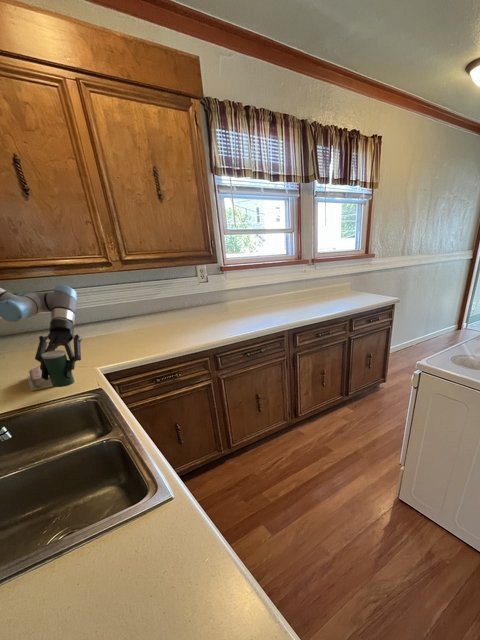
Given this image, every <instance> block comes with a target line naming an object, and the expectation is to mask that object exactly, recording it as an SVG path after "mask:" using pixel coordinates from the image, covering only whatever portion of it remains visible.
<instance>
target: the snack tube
mask: <svg viewBox="0 0 480 640" xmlns="http://www.w3.org/2000/svg"><path fill="white" fill-rule="evenodd" d="M41 356H42V358H43V360H44V363H45V366H46V368H47V371H48V374H49V377H50V379H51V382H52V385H53V387H54V388H64V387H68V386H71V385H73V384H75V378H74V375H73V372H72V373H71V379H68V378H67V377H65V369H66V360H68V356H67V352H66V350H62V349H58V350H57V349H55V351H49V352H46V353H43V354H42V355H41Z"/></svg>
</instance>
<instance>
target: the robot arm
mask: <svg viewBox="0 0 480 640" xmlns="http://www.w3.org/2000/svg"><path fill="white" fill-rule="evenodd" d="M77 295H78V293H77V291H76V290H75V289H74V288H72V287H70V286H69V285H65V284H64V285H63V284H59V285H57V286H55V287H54V289H53V291H48V292H43V291H42V292H36V291H35V292H32V291H31V292H30V291H26V292H18V293H17V294H16V295H15V294H13V293H11V292H10V291H7V290H6V289H4V288H2V287H0V317H1V318H2V319H3V320H5V321H7V322H10V323H17V322H22V321H26V319H28V318H31V317H33V316H36V315H39V314H41V313H50V322H49V329H48V330H49V332H48V334H47V335H45V336H43V335H39V336H38V339H39V343H38V346H37V350H36V353H35V357H34V359H35V360H36V361H37V362H39V363H40V364H39V366H40V370H42V375H41V378H43V379H45V380H48V375H49V374H48V371H47V368H46V366H45V363H44V360H43V358H42V356H41V355H42V354H43V353H46V352H49V351H55V350H57V349H58V347H61V346H63V347H64V349H65V353H66V356H67V360H66V369H65V377H67V378H68V379H71V373H72V374H73V370H75V365H76V362H77V361H81V360H82V351H81V342H82V340H83V339H82V337H81V336H80V335H79V334H74V331H75V322H76V321H75V319H76V310H77V309H76V308H77V303H78V299H77V298H78V296H77ZM72 341H73V349H72V346H71V345H72V344H71V342H72Z"/></svg>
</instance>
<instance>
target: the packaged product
mask: <svg viewBox="0 0 480 640" xmlns="http://www.w3.org/2000/svg"><path fill="white" fill-rule="evenodd" d="M28 373H29V375H26V376H27V380H28V385H29V389H30V391H31V392H34V391H38V390H43V389H48V388H53V387H54V386H53V385H52V382H51V379H50V377H49V375H48V380H45V379H43V378H41V375H42V370H40V365H38V366H36V367H34V368H31V369H30V370H29V371H28Z"/></svg>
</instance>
